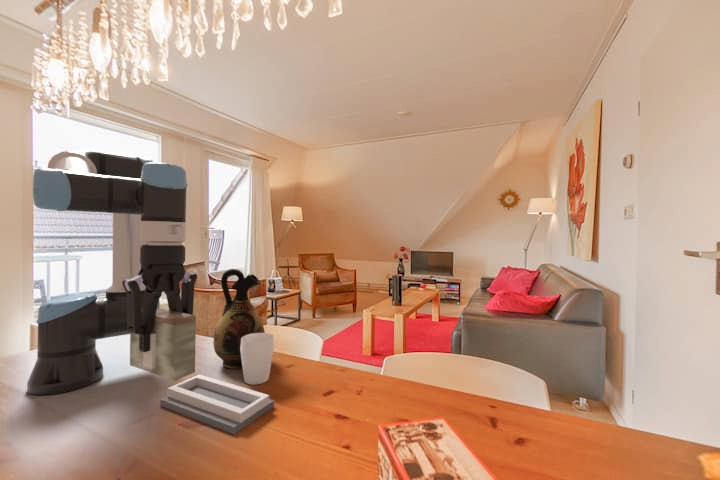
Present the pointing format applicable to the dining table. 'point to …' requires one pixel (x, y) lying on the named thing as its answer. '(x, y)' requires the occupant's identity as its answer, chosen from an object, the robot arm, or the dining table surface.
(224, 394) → the track base
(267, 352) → the cup
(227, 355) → the ceramic jug
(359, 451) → the dining table surface
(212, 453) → the dining table surface
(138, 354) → the beige textured block
